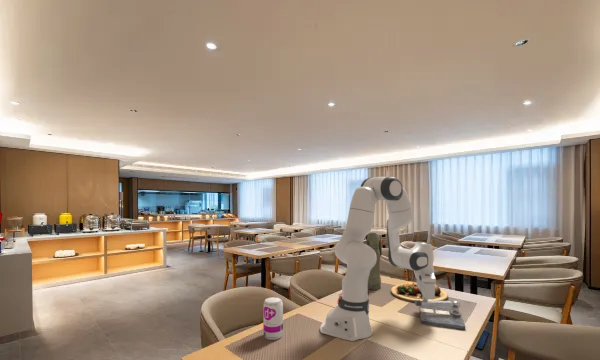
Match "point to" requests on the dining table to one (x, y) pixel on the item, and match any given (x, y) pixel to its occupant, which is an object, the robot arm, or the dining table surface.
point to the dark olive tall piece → (374, 274)
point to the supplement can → (273, 318)
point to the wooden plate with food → (416, 293)
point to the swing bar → (438, 303)
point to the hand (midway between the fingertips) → (425, 302)
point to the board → (442, 316)
